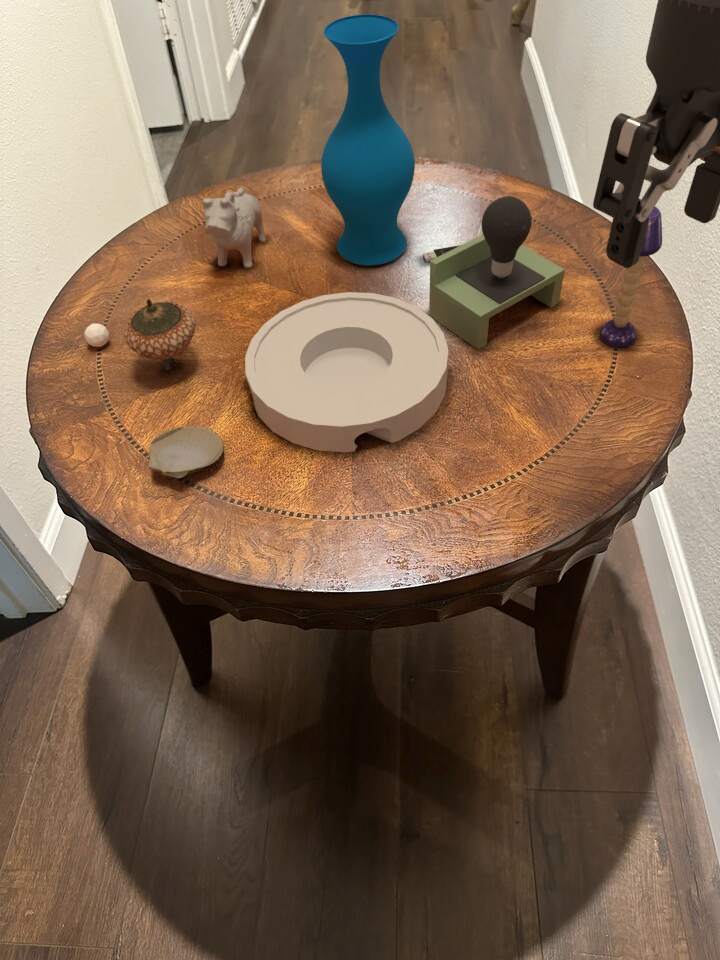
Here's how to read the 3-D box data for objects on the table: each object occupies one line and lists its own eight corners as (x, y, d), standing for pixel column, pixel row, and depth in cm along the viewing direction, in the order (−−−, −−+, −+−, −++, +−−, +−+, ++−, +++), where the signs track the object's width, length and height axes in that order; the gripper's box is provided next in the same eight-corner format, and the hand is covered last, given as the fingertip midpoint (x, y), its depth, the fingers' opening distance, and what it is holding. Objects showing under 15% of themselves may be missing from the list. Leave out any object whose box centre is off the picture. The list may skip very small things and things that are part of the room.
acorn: (194, 337, 94) (175, 269, 87) (214, 375, 89) (196, 307, 82) (131, 358, 92) (105, 290, 85) (147, 398, 87) (122, 330, 80)
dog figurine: (207, 282, 102) (189, 210, 94) (235, 230, 110) (220, 160, 102) (244, 284, 101) (229, 212, 93) (269, 232, 109) (257, 162, 101)
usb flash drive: (426, 264, 102) (426, 258, 101) (422, 256, 103) (422, 250, 102) (481, 255, 102) (481, 248, 102) (476, 247, 104) (477, 241, 103)
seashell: (235, 459, 83) (178, 424, 84) (238, 440, 80) (179, 404, 82) (188, 502, 77) (127, 464, 79) (190, 483, 75) (128, 444, 76)
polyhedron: (113, 336, 95) (106, 317, 93) (110, 351, 94) (102, 332, 91) (91, 338, 95) (83, 319, 93) (87, 353, 94) (79, 334, 91)
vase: (418, 224, 108) (419, 7, 87) (410, 275, 100) (409, 50, 79) (337, 222, 110) (318, 9, 89) (322, 272, 102) (298, 50, 81)
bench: (508, 272, 99) (514, 217, 93) (559, 303, 95) (569, 247, 89) (428, 315, 95) (429, 260, 88) (477, 350, 90) (482, 294, 84)
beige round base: (384, 481, 77) (382, 455, 74) (210, 408, 86) (202, 382, 83) (480, 352, 89) (483, 325, 86) (320, 299, 98) (317, 273, 95)
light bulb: (471, 284, 89) (476, 208, 82) (485, 259, 93) (491, 183, 85) (517, 294, 88) (526, 216, 80) (529, 267, 91) (540, 190, 83)
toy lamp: (627, 354, 88) (663, 226, 75) (589, 342, 89) (617, 215, 77) (640, 331, 90) (677, 203, 77) (603, 320, 92) (633, 193, 79)
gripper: (711, 31, 37) (637, 303, 49) (870, -39, 42) (766, 223, 54) (594, -4, 41) (552, 255, 53) (751, -64, 46) (680, 185, 58)
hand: (660, 239), depth 54 cm, fingers open, 8 cm apart
